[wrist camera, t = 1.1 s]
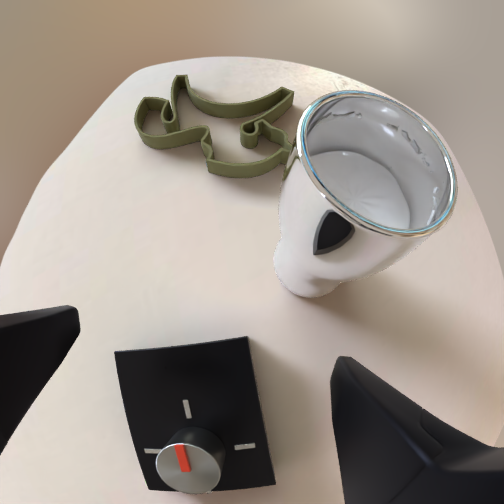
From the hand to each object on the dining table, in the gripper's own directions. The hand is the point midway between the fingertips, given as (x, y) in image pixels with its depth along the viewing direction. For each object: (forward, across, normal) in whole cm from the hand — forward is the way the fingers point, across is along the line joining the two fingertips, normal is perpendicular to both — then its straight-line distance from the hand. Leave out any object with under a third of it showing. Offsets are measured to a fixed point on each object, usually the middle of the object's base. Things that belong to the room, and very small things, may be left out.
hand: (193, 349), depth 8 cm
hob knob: (+5, +1, +13) cm, 13 cm away
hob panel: (+8, +2, +12) cm, 15 cm away
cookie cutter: (+22, +5, -11) cm, 25 cm away
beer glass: (+15, -6, 0) cm, 16 cm away
